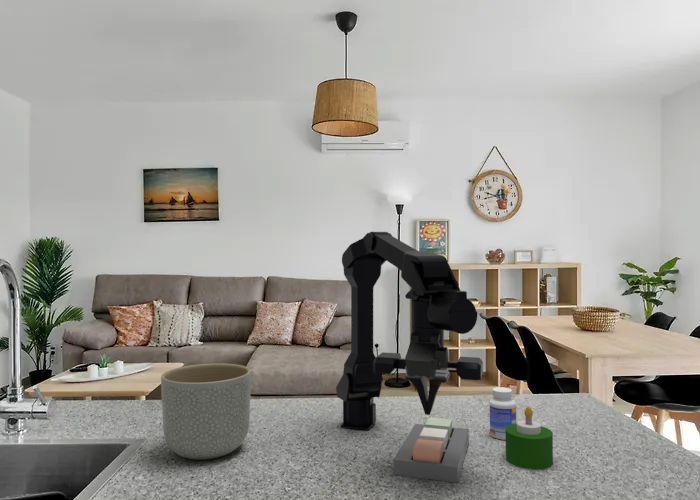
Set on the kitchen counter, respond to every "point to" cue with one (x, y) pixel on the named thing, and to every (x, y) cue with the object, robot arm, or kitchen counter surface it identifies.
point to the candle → (529, 444)
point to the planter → (206, 409)
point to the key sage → (440, 424)
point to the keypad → (429, 470)
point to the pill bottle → (501, 412)
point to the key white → (435, 435)
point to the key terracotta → (428, 450)
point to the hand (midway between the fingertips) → (427, 414)
